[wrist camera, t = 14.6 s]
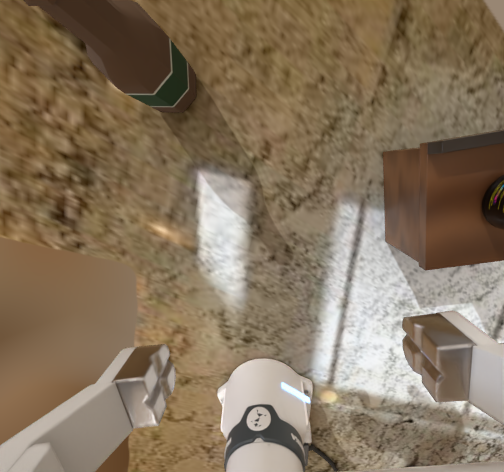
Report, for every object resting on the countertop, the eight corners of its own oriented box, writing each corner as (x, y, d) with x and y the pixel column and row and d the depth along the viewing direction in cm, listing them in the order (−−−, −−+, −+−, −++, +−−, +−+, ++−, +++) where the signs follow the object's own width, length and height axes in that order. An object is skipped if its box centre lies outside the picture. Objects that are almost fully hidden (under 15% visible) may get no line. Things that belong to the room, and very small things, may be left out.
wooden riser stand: (503, 227, 40) (613, 257, 27) (385, 244, 42) (438, 278, 29) (513, 126, 36) (647, 106, 24) (382, 148, 38) (442, 140, 25)
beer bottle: (207, 69, 36) (104, -100, 13) (188, 124, 38) (72, 63, 15) (155, 45, 35) (-49, -178, 12) (139, 102, 37) (-61, 2, 14)
